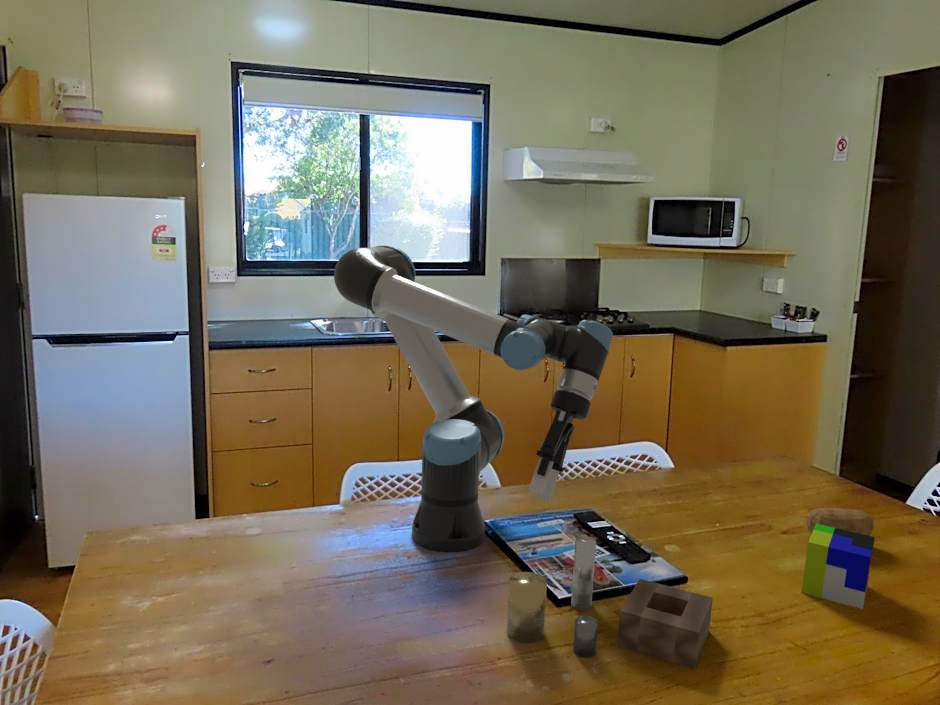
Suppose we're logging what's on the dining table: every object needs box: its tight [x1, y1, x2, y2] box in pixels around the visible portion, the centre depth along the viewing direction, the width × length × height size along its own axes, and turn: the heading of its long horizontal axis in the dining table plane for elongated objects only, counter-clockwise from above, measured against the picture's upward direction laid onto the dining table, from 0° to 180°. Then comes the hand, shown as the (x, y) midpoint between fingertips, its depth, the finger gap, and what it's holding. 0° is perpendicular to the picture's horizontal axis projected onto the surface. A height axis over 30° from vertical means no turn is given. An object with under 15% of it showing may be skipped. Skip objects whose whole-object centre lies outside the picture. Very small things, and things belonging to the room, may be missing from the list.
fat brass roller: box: [506, 571, 548, 644], centre depth 119 cm, size 6×6×9 cm
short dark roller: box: [572, 615, 599, 659], centre depth 115 cm, size 4×4×5 cm
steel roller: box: [570, 535, 597, 611], centre depth 128 cm, size 4×4×12 cm
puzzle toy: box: [801, 524, 875, 610], centre depth 137 cm, size 10×10×10 cm
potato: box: [806, 507, 875, 536], centre depth 156 cm, size 10×14×8 cm
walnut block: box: [616, 578, 714, 670], centre depth 119 cm, size 12×12×6 cm
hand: (539, 496), depth 145 cm, fingers open, 13 cm apart
